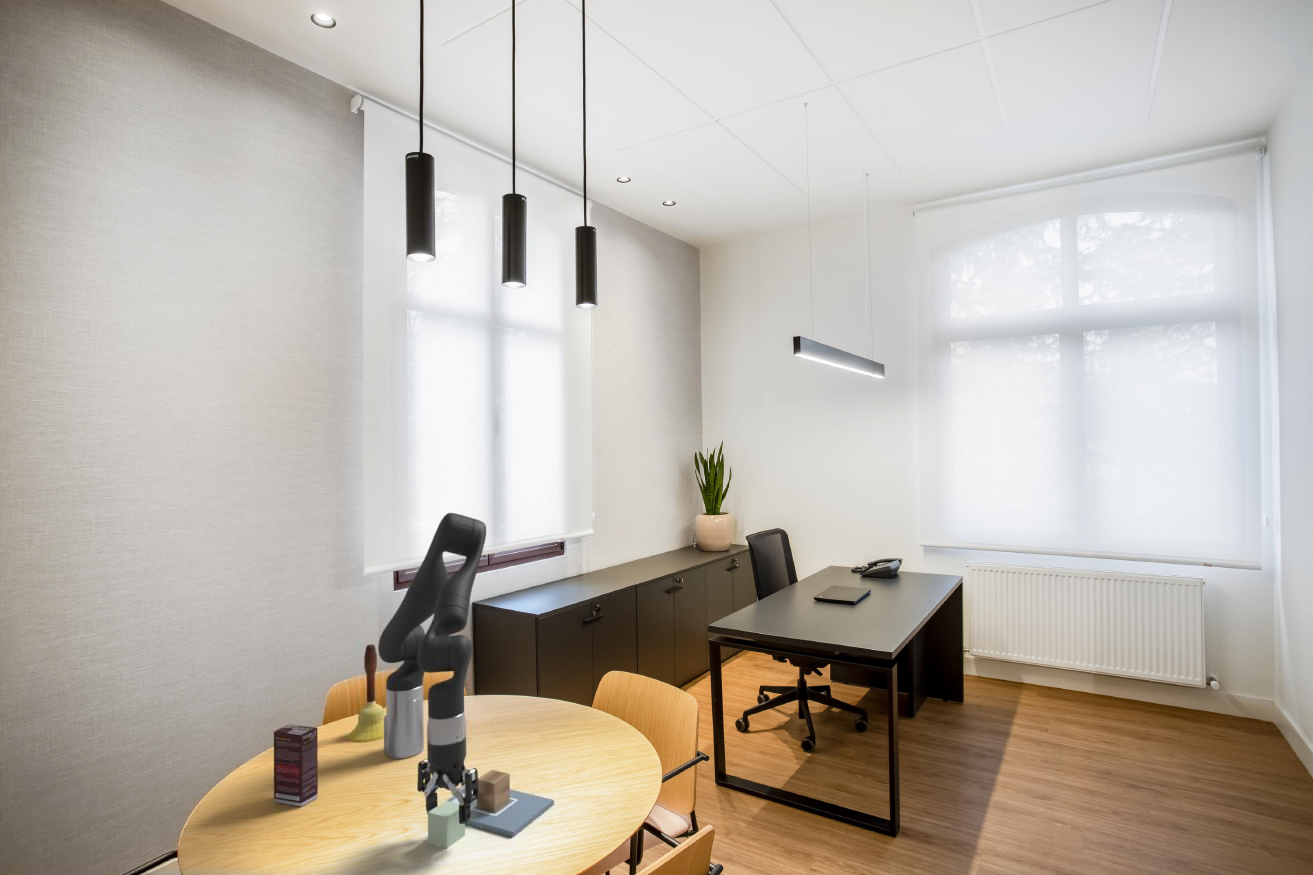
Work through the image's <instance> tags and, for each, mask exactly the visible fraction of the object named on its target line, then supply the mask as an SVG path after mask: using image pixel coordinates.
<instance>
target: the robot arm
mask: <svg viewBox="0 0 1313 875" xmlns="http://www.w3.org/2000/svg"><path fill="white" fill-rule="evenodd" d="M486 537H487V525H486V523H485V522H484V521H482V520H480V519H476V518H473V517H470V516H466V515H462V514H459V513H454V512H447V513H446V514H445V515H444V516H443V517H442V518H441V520H440V522H439V524H438V526H437V528H436V531H435V533H434V535H433V538H432V540H431V543H430V544H429V548H428V550H427V553H426V554H425V557H424V558H423V561H422V563H421V565H420V567H419V568H418V570H417V572H416V574H415V575H414V576H413V579H412V581H411V582H410V584H409V587H408V589H407V591H406V593H405V595H404V597H403V600H402V601H401V602H400V604H399V606H398V608H397V610H396V611H395V613H394V614H393V616H392V618H391V619H390V620H389V622H388V623H387V625H386V626H385V628H384V629H383V631H382V632H381V635H380V636H379V641H378V645H377V646H378V648H377V649H378V655H379V657H380V659H381V660H382V661H383V662H384V663H386V664H387V663H388V664H396V663H400V662H402V664H401V665H400V666H399V667H398V668H397V669H396V670H394V671H393V672H392V673H390V674H389V675H388V676H387V677H386V683H385V690H386V692H385V693H386V696H385V697H386V699H385V700H386V704H385V705H386V708H385V710H386V712H385V713H386V715H384V738H383V754H386V756H387V757H388V758H391V759H399V760H400V759H406V758H410V757H414V756H417V755H418V754H420V753H422V752H423V751H424V748H425V747H424V745H425V743H424V740H425V739H424V737H425V736H424V733H425V732H424V731H425V730H424V728H425V727H424V725H425V724H424V676H425V673H427V674H429V673H430V674H431V673H446V672H447V673H448V672H453V675H452V677H450V678H449V679H448V678H447V679H446V680H445V679H444V680H442V681H439V682H436V683H434V684H432V685H430V687H429V688H428V692H427V715H428V717H427V725H426V726H427V727H426V733H427V734H426V741H427V743H426V744H427V745H426V749H427V758H425V759H423V760H421V761H419V762H418V763H417V787H416V788H417V791H418V792H419V793H421V792H422V794H423V796H424V797H425V810H426V814H427V816H428V812H429V811H431V810H432V809H434V808H435V807H437V806H439V804H438V792H437V790H438V789H446V791H450V792H451V794H452V795H451V796H452V797H453V796H456V798H457V800H458V802H459V804H460V805H459V823H460V824H464V823H466V822H467V821H468V820H469V819H470V816H471V806H470V804H471V803H472V802H473V801H475V800H477V799H478V798H479V786H478V778H479V774H478V772H479V771H478V769H477V768H476V767H473V768H471V769H468V768H466V767H465V760H466V756H467V722H466V715H465V686H466V679H467V673H468V670H469V666H470V662H471V660H472V655H473V644H472V642H471V640H470V639H469V637H468V636H466V635H464V634H457V633H460V632H462V631H463V630H465V628H466V626H467V623H468V619H469V618H468V616H469V610H470V602H471V597H472V596H471V595H472V590H473V586H474V582H475V579H476V576H477V572H478V569H479V565H480V562H481V557H482V555H483V550H484V548H485V542H486V539H487V538H486ZM444 553H450V554H454V555H457V556H461V557H465V561H464V562H463V564H462V565H461V567H459V569H458V570H456V571H455V573H454V574H452V575H451V576H450V577H449V574H448V570H447V569H446V568H447V567H446V564H445V562H444V555H443V554H444ZM432 616H433V617H432ZM431 617H432V621H431V623H430V625H429V627H428V628H427V631H426V633H425V631H424V628H423V626H422V624H423V623H424V622H425V621H427V620H429V619H430V618H431ZM459 785H461V786H460V787H459ZM457 787H458V788H457ZM472 790H473V794H472ZM461 792H463V793H464V795H465V797H463V795H462V793H461Z"/></svg>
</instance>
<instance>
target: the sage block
mask: <svg viewBox="0 0 1313 875" xmlns="http://www.w3.org/2000/svg"><path fill="white" fill-rule="evenodd" d="M459 805H460V804H457V803H453V802H449V801H446V800H444V801H443V802H442V803H440V804H438V806H437V807H435V808H434V809H432V810H431V811H429V812H428V815H427V841H428V842H427V843H428V844H431V845H434V846H438V847H441V848H444V849H448V848H450V847H451V846H453V845H454V844H456V843H457V842H458V841H460V840H461V839H463V838H464V837H466V824H465V823H464V824H460V823H459Z"/></svg>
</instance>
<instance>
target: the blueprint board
mask: <svg viewBox="0 0 1313 875" xmlns="http://www.w3.org/2000/svg"><path fill="white" fill-rule="evenodd" d="M461 793H462V795H463V797H465V795H464V793H463V792H461ZM472 794H473V790H472ZM445 801H449V802H453V803H457V804H459V802H458V800H457V798H456V796H453V795H452V796H451V797H450V798H448V799H446V800H445ZM554 805H555V800H554V799H552V798H548V797H543V796H540V795H536V794H532V793H527V792H522V791H518V790H514V789H511V788H510V802H509V803H507V804H506V805H505V806H503V807H502V808H500V809H499V810H498V811H496V812H491V811H487V810H484V809H480V808H477V800H475V801H473V802H472V803H471V804H470V806H471V816H470V819H469V820H468V821H467V822H466V823H465V825H470V826H472V827H473V826H474V827H476V828H479V829H483V830H487V831H490V832H494V833H497V834H501V835H505V836H508V837H511V838H514V837H516V836H517V835H518V834H519V833H520V832H522V831H523V830H524V829H525V828H527V827H528V826H529V825H530V824H532V823H533V822H534V821H535V820H537V819H538V818H539V817H541V816H542V815H543V814H544V813H545V812H547V811H548V810H550V809H551V808H552V807H553V806H554Z"/></svg>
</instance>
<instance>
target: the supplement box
mask: <svg viewBox="0 0 1313 875" xmlns="http://www.w3.org/2000/svg"><path fill="white" fill-rule="evenodd" d="M318 746H319V745H318V727H313V726H304V725H297V724H288V725H286V726H283V727H280V728H278V729H276V730H274V731H273V802H274V803H278V804H285V805H289V806H290V805H291V806H295V807H300V808H301V807H303V806H306V805H308V804H309V803H311V802H313V801H314V800H316V799H317V798H318V797H319V794H318V790H319V787H318V786H319V782H318V778H319V777H318V775H319V774H318V763H319V762H318V757H319V756H318V755H319V754H318V752H319V751H318V748H319V747H318Z"/></svg>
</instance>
